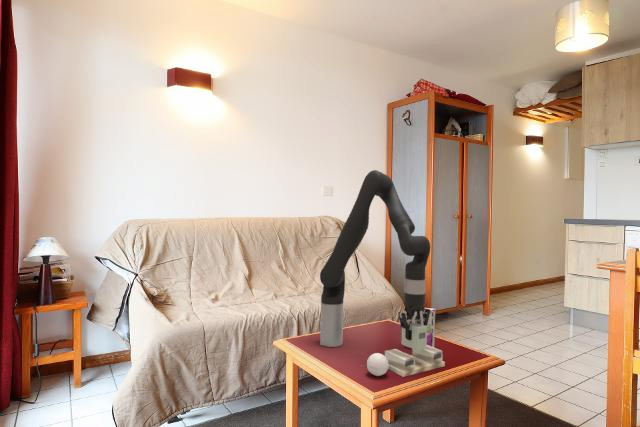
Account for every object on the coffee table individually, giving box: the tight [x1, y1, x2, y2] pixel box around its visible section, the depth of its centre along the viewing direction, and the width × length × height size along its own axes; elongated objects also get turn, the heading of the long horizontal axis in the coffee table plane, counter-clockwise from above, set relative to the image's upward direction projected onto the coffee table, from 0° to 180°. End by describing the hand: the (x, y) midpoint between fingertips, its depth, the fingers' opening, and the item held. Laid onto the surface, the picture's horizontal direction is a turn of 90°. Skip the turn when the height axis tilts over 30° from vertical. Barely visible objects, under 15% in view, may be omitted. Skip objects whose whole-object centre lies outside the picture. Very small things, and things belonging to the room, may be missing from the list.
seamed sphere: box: [360, 352, 389, 377], centre depth 141 cm, size 10×7×7 cm
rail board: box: [384, 345, 446, 378], centre depth 149 cm, size 20×11×6 cm, turn 121°
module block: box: [400, 322, 427, 351], centre depth 149 cm, size 4×8×8 cm, turn 31°
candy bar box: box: [404, 307, 436, 349], centre depth 169 cm, size 11×5×16 cm, turn 65°
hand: (414, 338), depth 149 cm, fingers closed on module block, 4 cm apart
